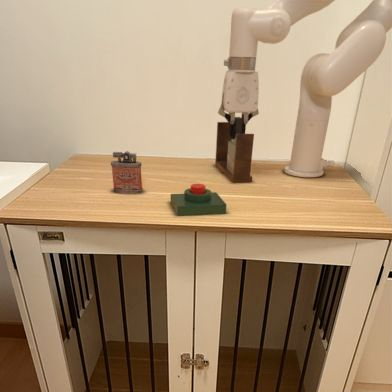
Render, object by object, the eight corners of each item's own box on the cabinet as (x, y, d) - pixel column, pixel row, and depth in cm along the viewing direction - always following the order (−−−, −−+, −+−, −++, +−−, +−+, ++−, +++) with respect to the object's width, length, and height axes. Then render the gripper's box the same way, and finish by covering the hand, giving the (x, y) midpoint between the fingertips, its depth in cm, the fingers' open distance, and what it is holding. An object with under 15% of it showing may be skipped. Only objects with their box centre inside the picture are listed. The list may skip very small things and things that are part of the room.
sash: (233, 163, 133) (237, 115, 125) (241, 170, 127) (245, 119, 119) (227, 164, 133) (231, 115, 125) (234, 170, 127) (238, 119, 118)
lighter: (143, 190, 113) (141, 151, 107) (141, 193, 110) (139, 153, 104) (114, 189, 113) (111, 149, 107) (112, 192, 111) (108, 152, 104)
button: (203, 190, 102) (203, 183, 101) (206, 195, 99) (207, 187, 98) (189, 191, 101) (189, 183, 100) (192, 195, 98) (192, 188, 97)
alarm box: (215, 200, 107) (216, 185, 105) (225, 213, 100) (227, 196, 97) (170, 202, 105) (170, 186, 103) (177, 215, 97) (177, 198, 95)
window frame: (232, 164, 140) (235, 121, 132) (252, 182, 123) (257, 134, 115) (215, 165, 139) (217, 121, 131) (233, 183, 122) (237, 134, 114)
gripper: (218, 65, 110) (214, 141, 121) (273, 66, 113) (265, 140, 124) (211, 64, 115) (208, 136, 126) (264, 65, 118) (257, 135, 129)
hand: (236, 137), depth 125 cm, fingers closed on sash, 2 cm apart
